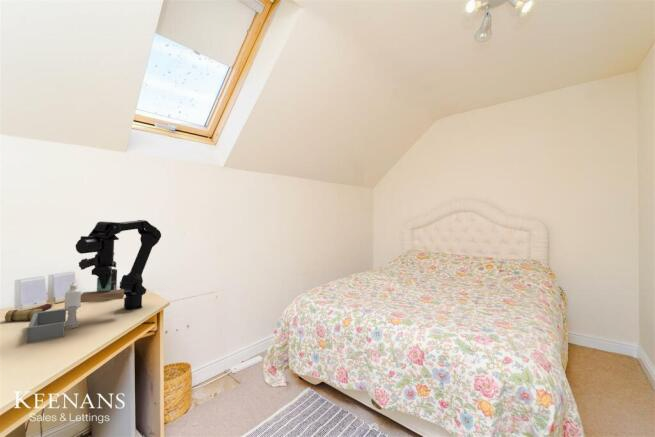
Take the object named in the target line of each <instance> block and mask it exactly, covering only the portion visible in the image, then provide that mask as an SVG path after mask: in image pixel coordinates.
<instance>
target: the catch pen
mask: <svg viewBox="0 0 655 437" xmlns="http://www.w3.org/2000/svg"><path fill="white" fill-rule="evenodd" d="M66 314H67V309H65V308H61V309H60V308H59V309H52V310H45V311H43V312H36V313H34V314H33V317H32V319H31V320H29V321H30V322H29V323H28V326H27V333H26V334H27V335H26V343H27V344H30V343H34V342H39V341H47V340H53V339H58V338H64V336H65V328H64V326H65V325H64V324H65V323H66V321H67V318H66V317H67V316H66Z"/></svg>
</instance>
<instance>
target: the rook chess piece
mask: <svg viewBox="0 0 655 437" xmlns="http://www.w3.org/2000/svg"><path fill="white" fill-rule="evenodd" d="M78 309H79V307H78V308H77V306H73V307H72V306H70V307H68V309H66V314H67V318H66V321H65V322H64V330H65V329H66V330H69V329H70V330H72V329H76V328H77V327H79V326H80V324H79V322H80V321H79V320H78V318H77V313H78V312H77V310H78Z"/></svg>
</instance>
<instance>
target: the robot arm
mask: <svg viewBox="0 0 655 437" xmlns="http://www.w3.org/2000/svg"><path fill="white" fill-rule="evenodd" d="M131 230H137V233H138V234H139V235H140V239H139V240H140V243H141V244H140V248H139V250H138V252H137V254H136V257H135V259H134V262H133V264H132V266H131V269H130V272H129V273H128V274H124V275H122V277H121V279H120V282H119V290H120V289H124V296H125V297H123V307H124V308H125V310H127V311H128V310H134V309H141V308H143V295H145V294H146V293H147V288H145V287H144V285H143V282H144V280H143V273H144V269H145V267H146V265H147V263H148V260H149V257H150V256H151V255H150V254H151V252H152V249H153V248H154V247H155V246H156V245H158V243H159V241H160V239H161V238H162V233H161V231H160V230H159V229H158V228H157V227H156V226H154V225H152V224H151V223H150V222H149V221H148V220H144V219H138V220H130V221H122V222H119V221H118V222H117V221H116V222H115V221H98V222H96V224H95V227H94V228H93V229H92V230H91V231H90V233H89V234H88V235H81V236H80V239H79V240H78V241H77V242H76V244H75V250H76V252H77V253H78V254H81V255H83V254H91V253H96V254H95V255H94V257H91V258H87V257H86V258H81V260H80V261H79V262H78V267H79V268H80V270H81V271H82V270H85V269H87V268H90V267H91V268H92V267H93V266H94V268H92V269H91V275H93V276H96V277H97V278H98V277H99V280H100V284H101V288H102V289H105V287H106V285H107V283H108V281H109V279H110V277H111V276H112V274H113V272H114V270H115V269H116V268H117V262H116V261H115V260H114V256H115V241H119V239H120V238H119V237H118V236H117V235H118V234H120V233H121V232H125V231H131Z"/></svg>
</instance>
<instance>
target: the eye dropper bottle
mask: <svg viewBox="0 0 655 437" xmlns="http://www.w3.org/2000/svg"><path fill="white" fill-rule="evenodd" d="M81 294H82V290H81V289H78V284H77V283H76V282H75V281H72V284H70V286H69V290H67V291H66V292H64V309H66V310H67V309H68V307H70V306H72V307H73V306H77V308H78V309H79V308H80V307H81V306H82V303H80V300H81Z"/></svg>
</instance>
